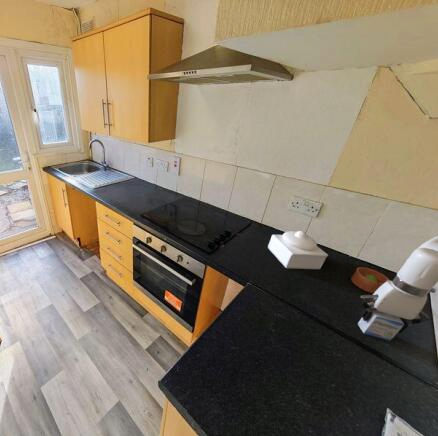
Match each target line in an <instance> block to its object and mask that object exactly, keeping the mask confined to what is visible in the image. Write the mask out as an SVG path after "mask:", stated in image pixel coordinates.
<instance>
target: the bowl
mask: <svg viewBox="0 0 438 436" xmlns="http://www.w3.org/2000/svg"><path fill="white" fill-rule="evenodd" d="M365 275H372V276H374V277H376V278H377V280H378V283H377V282H374V281H372V280H369V279H367V278H366V277H364V276H365ZM350 280H351V282H352V283H353V284H354V285H355V286H356V287H358V288H359V289H360V290H363V291H365V292H368V293H370V294H374V293H375V291H376V290H377V289H378V288H379V287H380V286H381V285H383V284H384V283H385V282H387V281H388V280H390V279H389V278H388V277H387V276H386V275H384V274H383V273H381V272H379V271H377V270H375V269H372V268H369V267H363V266H361V267H360V266H359V267H357V268H356V270H355V271H354V273H353V274H352V276H351V277H350Z"/></svg>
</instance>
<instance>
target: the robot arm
mask: <svg viewBox="0 0 438 436" xmlns="http://www.w3.org/2000/svg"><path fill="white" fill-rule="evenodd" d="M437 283H438V235H436V236H435V237H432V238H431V239H428V240H426V241H425V242H424V243H422V244H420V245H419V246H418V247H417V248H415V249H414V250H413V252H411V254H410V255H409V257H408V258H407V259H406V261H405V262H404V264H403V265H402V266H401V268H400V269H399V270H398V272H397V273H396V275H394V277H393V278H392V279H391V280H390V279H389V280H388V281H387V282H385V283H384V284H383V285H381V286H380V287H379V288H378V289H377V290H376V291H375V293H372V294H366V295H365V294H363V295H359V298H360V301H361V304H362V306H363V307H364V308H363V309H362V311H361V312H360V316H361V318H363V320H364V321H367V320H368V319H369V317H370V316H371V315H372V313H371V312H372V311H376V310H380V311H383V312H386V313H389V314H392V315H395V316H398V317H399V318H400V319H401V320H402V322H403V323H404V326H403V327H402V328H401V329H400V330H399V331H398V334H402V333H403V331H405V330H406V329H407V328H408V327H410V326H413V325H414V324H415V325H417V324H421V323H422V322H423V323H424V322H427V321H429V320H430V318H429V317H428V315H427V314H426V313H424V312H423V311H422V310H423V309H424V307H425V305H426V303H427V300H428V297H429V295H428V294H429V293H433V294H434V293H436V292H437V289H436V288H434V286H436V284H437ZM368 301H369V302H368Z"/></svg>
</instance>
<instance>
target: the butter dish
mask: <svg viewBox="0 0 438 436" xmlns="http://www.w3.org/2000/svg"><path fill="white" fill-rule="evenodd" d="M268 242H269V243H268V245H267V249H269V251H270V252H271V253H272V255H274V257H276V259H277V260H278V261H279V262H280V263H281V264H282V265H283V267H284V268H286V269H296V270H297V269H299V270H300V269H301V270H302V269H304V270H321V268H322V266H323V264H324V263H325V261H326V259H327V257H329V254H328V253H326V251H324V250H323V249H321V248H320V247H319V246H318V243H317V241H316V240H315V239H314V238H313V237H311V236H310V235H308V234H307V233H306V232H305V231H304V230H298V231H295V230H294V231H293V230H292V231H291V230H290V231H285V232H284V233H283V234H272V235H271V238H270V240H269V241H268Z"/></svg>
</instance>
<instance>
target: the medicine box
mask: <svg viewBox="0 0 438 436" xmlns="http://www.w3.org/2000/svg"><path fill="white" fill-rule="evenodd" d="M371 313H372V315H371V316H370V317H369V319H368V320H367V321H364V320H363V318H362V317H361V318H360V320H359V321H358V322H357V325H358V327H359V328H360V330H361V331H362V333H363V335H367V336H370V337H375V338H378V339H382V340H386V341H389V342H390V341H392V340H393V339H394V337H395V336H396V335H397V334H399V332H398V331H399V330H400V329H401V328H402V327H403V326H404V323H403V322H402V320H401V319H400V318H401V317H398V316H395V315H392V314H389V313H386V312H383V311H380V310H376V311H372V312H371Z"/></svg>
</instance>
